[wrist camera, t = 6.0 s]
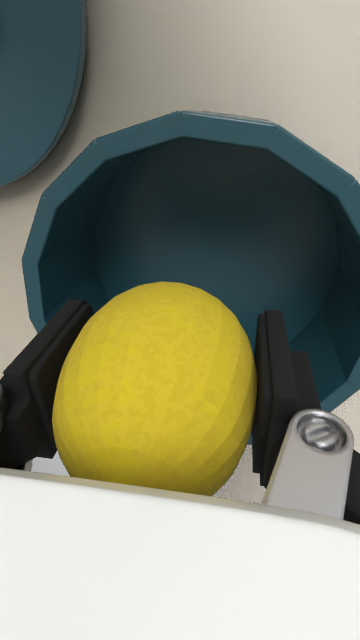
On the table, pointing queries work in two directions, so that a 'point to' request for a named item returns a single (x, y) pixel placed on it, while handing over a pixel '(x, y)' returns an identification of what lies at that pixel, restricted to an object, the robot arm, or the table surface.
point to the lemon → (157, 392)
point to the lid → (37, 78)
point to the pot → (210, 232)
